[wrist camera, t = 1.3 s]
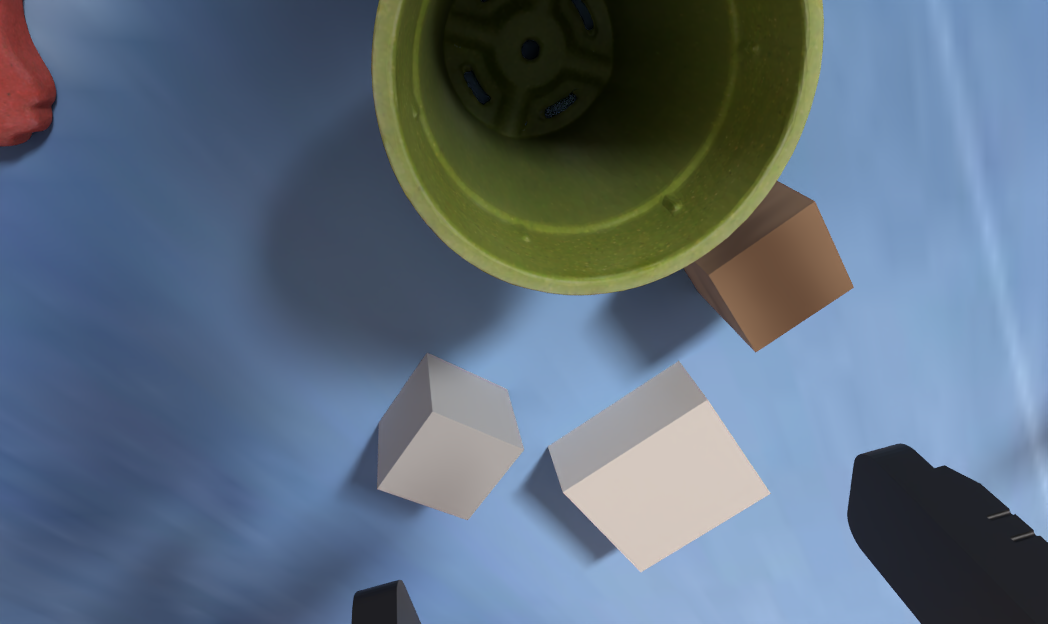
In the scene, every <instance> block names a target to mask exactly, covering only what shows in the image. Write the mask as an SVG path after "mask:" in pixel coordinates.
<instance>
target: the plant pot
mask: <svg viewBox="0 0 1048 624" xmlns="http://www.w3.org/2000/svg"><path fill="white" fill-rule="evenodd" d="M581 1H582V2H583V3H584V4H585V5H586V7H587V9H588V11H589V13H590V15H591V18H592V20H593V24H594V26H593V28H592V29H591V30H587V29H586V28H585V25H584V22H583V20H582V18H581V16H580V14H579V11H578V10H577V8H576V7H575V5H574V4H573V2H572V1H571V0H486V1H485V2H482V1H481V0H379V4H378V8H377V13H376V19H375V25H374V33H373V43H372V63H371V72H372V88H373V98H374V105H375V111H376V117H377V122H378V126H379V130H380V134H381V137H382V141H383V145H384V148H385V151H386V153H387V156H388V159H389V162H390V165H391V167H392V169H393V172H394V174H395V176H396V178H397V180H398V182H399V184H400V186H401V188H402V189H403V191H404V193H405V195H406V196H407V198H408V199H409V201H410V202H411V204H412V205H413V207H414V208H415V210H416V211H417V213H418V214H419V215H420V216H421V218H422V219H423V220H424V221H425V223H426V224H427V225H428V226H429V227H430V228H431V230H432V231H433V232H434V233H435V234H436V235H437V236H438V237H439V238H440V239H441V240H442V241H443V242H444V243H445V244H446V245H447V246H448V247H449V248H450V249H452V250H453V251H454V252H455V253H457V254H458V255H459V256H461V257H462V258H464V259H465V260H466V261H468V262H469V263H471V264H472V265H474V266H475V267H477V268H479V269H480V270H482V271H483V272H485V273H487V274H489V275H491V276H493V277H495V278H498V279H500V280H502V281H505V282H507V283H510V284H512V285H516V286H520V287H523V288H527V289H532V290H537V291H542V292H547V293H553V294H563V295H595V294H604V293H612V292H618V291H624V290H628V289H632V288H636V287H639V286H643V285H646V284H649V283H651V282H654V281H656V280H659V279H662V278H664V277H667V276H669V275H671V274H673V273H675V272H677V271H679V270H680V269H682V268H684V267H686V266H688V265H690V264H691V263H693V262H694V261H696V260H698V259H699V258H701V257H702V256H704V255H705V254H707V253H708V252H710V251H711V250H712V249H714V248H715V247H716V246H717V245H719V244H720V243H721V242H723V241H724V240H725V239H726V238H728V237H729V236H730V235H731V234H732V233H733V232H734V231H735V230H736V229H737V228H738V227H739V226H740V225H741V224H742V223H743V222H744V221H745V220H747V218H748V217H749V216H750V215H751V214H752V213H753V211H754V210H755V209H756V208H757V207H758V205H759V204H760V203H761V202H762V200H763V199H764V198H765V197H766V195H767V194H768V193H769V191H770V190H771V189H772V187H773V186H774V184H775V183H776V181H777V180H778V178H779V176H780V175H781V173H782V171H783V170H784V168H785V166H786V164H787V163H788V161H789V159H790V157H791V156H792V154H793V152H794V150H795V147H796V145H797V143H798V141H799V139H800V136H801V134H802V131H803V128H804V126H805V123H806V120H807V118H808V115H809V112H810V109H811V106H812V102H813V99H814V95H815V91H816V87H817V83H818V79H819V74H820V69H821V60H822V52H823V27H824V18H823V4H822V0H581ZM528 40H533V41H535V42H537V44H538V45H539V48H540V49H539V53H538V56H537V57H536V58H534V59H531V60H530V59H526V58H524V57H523V55H522V46H523V44H524V43H525V42H526V41H528ZM454 45H456V46H454ZM457 46H458V47H457ZM460 47H461V48H460ZM471 70H473V72H474V74H475V76H476V79H477V80H478V82H479V84H480V86H481V87H482V89H483V90H484V92H485V93H486V94H487V95H489V96H490V97H491V99H490V101H488V102H486V103H485V104H481V103H480V102H479V101H478V100H477V98H476V97H475V96H474V94H473V91H472V90H471V88H469V87H468V85H467V82H466V81H465V79H464V73H466V72H469V71H471ZM575 89H576V90H575ZM572 92H573V93H572ZM570 93H572V94H575V95H576V97H577V98H576V101H575V102H574V103H573V104H571V105H570V106H569V107H568V108H567V109H566V110H564V111H562V112H561V113H559V114H557V115H555V116H553V117H551V118H546V116H545V110H546V108H548V107H549V106H552V105H554V104H555V103H557V102H559V101H560V100H562V99H564V98H566V97H568V96H569V94H570ZM526 121H527V124H526ZM525 124H526V126H525Z"/></svg>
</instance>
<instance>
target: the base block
mask: <svg viewBox="0 0 1048 624" xmlns="http://www.w3.org/2000/svg"><path fill="white" fill-rule="evenodd" d="M548 449H549V452H550V455H551V458H552V461H553V464H554V467H555V470H556V473H557V476H558V479H559V482H560V485H561V488H562V491H563V493H564V494H565V495H566V496H567V497H568V498H569V499H570V500H571V501H572V502H573V503H574V504H575V505H576V506H577V507H578V508H579V509H580V510H581V511H582V512H583V513H584V514H585V515H586V516H587V518H588V519H589V520H590V521H591V522H592V523H593V524H594V525H595V526H596V527H597V528H598V529H599V530H600V531H601V532H602V533H603V534H604V535H605V536H606V537H607V538H608V539H609V540H610V541H611V542H612V543H613V544H614V545H615V546H616V547H617V548H618V549H619V550H620V551H621V552H622V553H623V554H624V555H625V556H626V558H627V559H628V560H629V561H630V562H631V563H632V564H633V565H634V566H635V567H636V568H637V569H638V570H639V571H640V572H642V571H644V570H645V569H647V568H649V567H650V566H652V565H654V564H655V563H657V562H659V561H660V560H662V559H663V558H665V557H667V556H668V555H670V554H672V553H673V552H675V551H677V550H678V549H680V548H682V547H683V546H685V545H687V544H688V543H690V542H692V541H693V540H695V539H696V538H698V537H700V536H701V535H703V534H705V533H706V532H708V531H710V530H711V529H713V528H715V527H716V526H718V525H720V524H721V523H723V522H725V521H726V520H728V519H729V518H731V517H733V516H734V515H736V514H738V513H739V512H741V511H743V510H744V509H746V508H748V507H749V506H751V505H753V504H754V503H756V502H757V501H759V500H761V499H762V498H764V497H766V496H767V495H769V494H771V493H770V492H769V490H768V489H767V487H766V486H765V484H764V483H763V481H762V480H761V478H760V477H759V475H758V474H757V472H756V471H755V470H754V468H753V467H752V465H751V464H750V462H749V461H748V459H747V458H746V456H745V455H744V453H743V452H742V450H741V449H740V447H739V446H738V444H737V443H736V441H735V440H734V438H733V437H732V435H731V434H730V432H729V431H728V429H727V428H726V426H725V425H724V423H723V422H722V420H721V419H720V417H719V416H718V414H717V413H716V411H715V410H714V408H713V407H712V405H711V404H710V402H709V401H708V400H707V398H706V397H705V395H704V394H703V393H702V391H701V390H700V389H699V387H698V386H697V385H696V383H695V382H694V381H693V379H692V378H691V376H690V375H689V374H688V372H687V371H686V370H685V368H684V367H683V366H682V364H681V363H680V362H679V361H678V362H676V363H675V364H673V365H672V366H670V367H669V368H667V369H666V370H664V371H662V372H661V373H659V374H658V375H656V376H655V377H653V378H652V379H650V380H649V381H647V382H646V383H644V384H643V385H641V386H640V387H638V388H636V389H635V390H633V391H632V392H630V393H629V394H627V395H626V396H624V397H623V398H621V399H620V400H618V401H617V402H615V403H614V404H612V405H611V406H609V407H607V408H606V409H604V410H603V411H601V412H600V413H598V414H597V415H595V416H594V417H592V418H591V419H589V420H588V421H586V422H585V423H583V424H581V425H580V426H578V427H577V428H575V429H574V430H572V431H571V432H569V433H568V434H566V435H565V436H563V437H562V438H560V439H559V440H557V441H555V442H554V443H552V444H551V445H549V446H548Z"/></svg>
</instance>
